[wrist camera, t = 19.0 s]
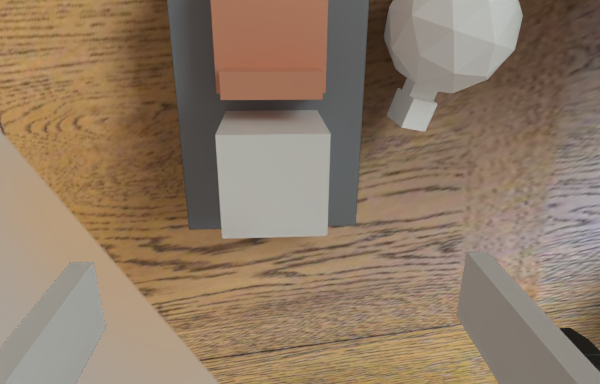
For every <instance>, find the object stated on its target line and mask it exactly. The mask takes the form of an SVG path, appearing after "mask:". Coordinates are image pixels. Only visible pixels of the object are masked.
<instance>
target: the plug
mask: <svg viewBox="0 0 600 384" xmlns="http://www.w3.org/2000/svg"><path fill="white" fill-rule="evenodd" d="M215 140H216V154H217V169H218V184H219V199H220V214H221V229H222V239H235V238H270V237H305V236H327V233H328V202H329V171H330V140H331V133H330V132H329V130H328V128H327V126H326V125H325V123H324V121H323V120H322V118H321V116H320V114H319V113H318V111H317V110H259V111H226V112H225V114H224V117H223V119H222V121H221V123H220V125H219V128H218V130H217V132H216V134H215Z"/></svg>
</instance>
